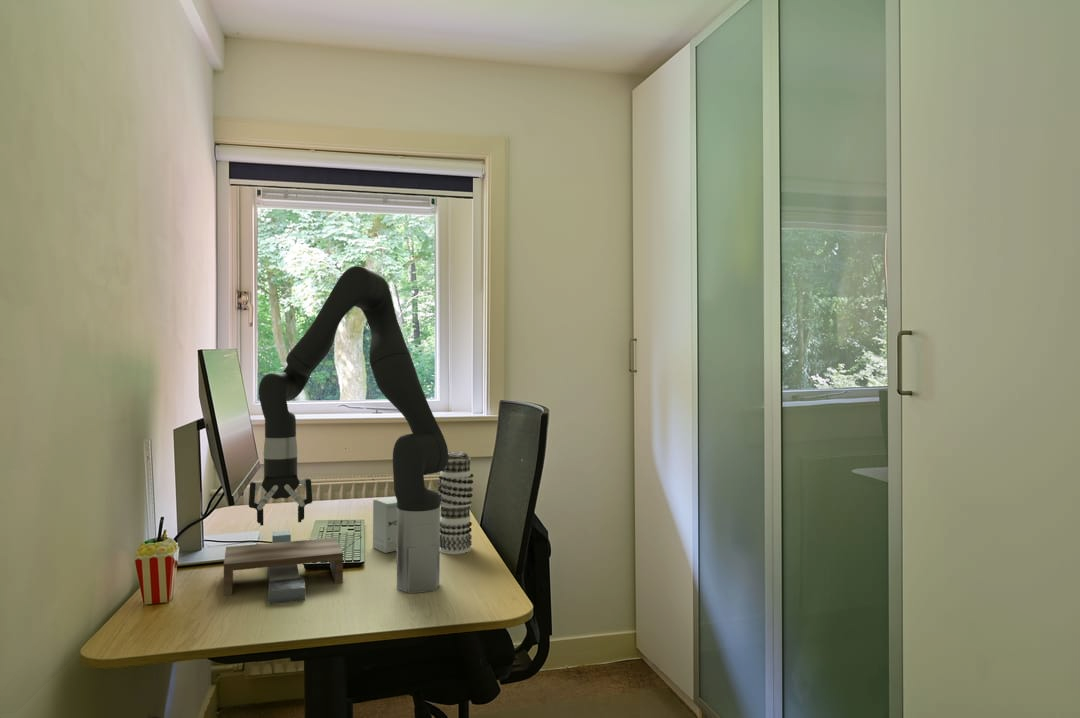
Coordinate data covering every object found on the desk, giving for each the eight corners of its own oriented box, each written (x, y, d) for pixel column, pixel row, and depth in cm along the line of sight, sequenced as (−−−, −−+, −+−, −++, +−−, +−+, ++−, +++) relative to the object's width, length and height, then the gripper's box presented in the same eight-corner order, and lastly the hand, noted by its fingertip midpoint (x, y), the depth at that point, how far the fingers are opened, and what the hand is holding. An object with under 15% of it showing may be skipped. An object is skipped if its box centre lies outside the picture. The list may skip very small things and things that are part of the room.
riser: (342, 582, 158) (342, 553, 158) (223, 595, 149) (223, 564, 149) (335, 564, 171) (336, 537, 171) (226, 575, 162) (226, 546, 162)
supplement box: (385, 553, 180) (385, 503, 180) (372, 547, 186) (372, 498, 186) (411, 548, 185) (411, 500, 185) (397, 542, 191) (397, 495, 191)
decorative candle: (476, 553, 181) (476, 454, 181) (439, 555, 179) (440, 455, 179) (469, 543, 190) (470, 449, 190) (434, 546, 188) (435, 450, 187)
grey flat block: (305, 602, 146) (305, 587, 146) (268, 606, 144) (268, 591, 144) (303, 591, 153) (303, 577, 153) (268, 595, 150) (268, 580, 150)
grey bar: (267, 561, 173) (268, 532, 173) (294, 558, 175) (294, 530, 175) (270, 592, 151) (270, 559, 151) (300, 589, 153) (300, 556, 153)
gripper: (248, 459, 165) (249, 529, 165) (313, 455, 171) (313, 524, 171) (248, 455, 172) (248, 523, 172) (310, 452, 178) (310, 517, 178)
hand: (281, 523), depth 172 cm, fingers open, 8 cm apart
